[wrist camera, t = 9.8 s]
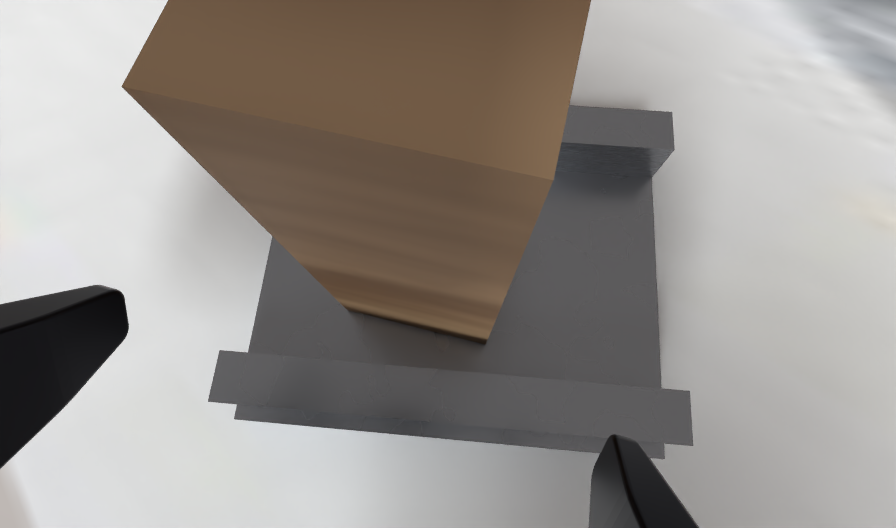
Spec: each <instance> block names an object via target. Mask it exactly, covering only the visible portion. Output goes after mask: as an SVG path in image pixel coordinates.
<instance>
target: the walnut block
mask: <svg viewBox="0 0 896 528" xmlns="http://www.w3.org/2000/svg"><path fill="white" fill-rule="evenodd" d="M590 2H591V0H168V2H167V4H166V6H165V7H164V9H163V11H162V13H161V15H160V17H159V19H158V20H157V22H156V24H155V26H154V28H153V30H152V31H151V33H150V35H149V37H148V39H147V41H146V42H145V44H144V46H143V48H142V50H141V52H140V54H139V55H138V57H137V59H136V61H135V63H134V65H133V66H132V68H131V70H130V72H129V74H128V76H127V78H126V79H125V81H124V83H123V85H122V87H123V88H124V89H125V90H126V91H127V92H128V93H129V94H130V95H131V96H132V97H133V98H134V99H135V100H136V101H137V102H138V103H139V104H140V105H141V106H142V107H143V108H144V109H145V110H146V111H147V112H148V113H149V114H150V115H151V116H152V117H153V118H154V119H155V120H156V121H157V122H158V123H159V124H160V125H161V126H162V127H163V128H164V129H165V130H166V131H167V132H168V133H169V134H170V135H171V136H172V137H173V138H174V139H175V140H176V141H177V142H178V143H179V144H180V145H181V146H182V147H183V148H184V149H185V150H186V151H187V152H188V153H189V154H190V155H191V156H192V157H193V158H194V159H195V160H196V161H197V162H198V163H199V164H200V165H201V166H202V167H203V168H204V169H205V170H206V171H207V172H208V173H209V174H210V175H211V176H212V177H213V178H214V179H215V180H216V181H217V182H218V183H219V184H220V185H221V186H222V187H223V188H224V189H225V190H226V191H227V192H228V193H229V194H230V195H231V196H233V197H234V198H235V199H236V200H237V201H238V202H239V203H240V204H241V205H242V206H243V207H244V208H245V209H246V210H247V211H248V212H249V213H250V214H251V215H252V216H253V217H254V218H255V219H256V220H257V221H258V222H259V223H260V224H261V225H262V226H263V227H264V228H265V229H266V230H267V231H268V232H269V233H270V234H271V235H272V236H273V237H274V238H275V239H276V240H277V241H278V242H279V243H280V244H281V245H282V246H283V247H284V248H285V249H286V250H287V251H288V252H289V253H290V254H291V255H292V256H293V257H294V258H295V259H296V260H297V261H298V262H299V263H300V264H301V265H302V266H303V267H304V268H305V269H306V270H307V271H308V272H309V273H310V274H311V275H312V276H313V277H314V278H315V279H316V280H317V281H318V282H319V283H320V284H321V285H322V286H323V287H324V288H325V289H326V290H327V291H328V292H329V293H330V294H331V295H332V296H333V297H334V298H335V299H336V300H337V301H338V302H339V303H340V304H341V305H342V306H343V307H345V308H346V309H347V310H349V311H353V312H357V313H361V314H365V315H369V316H373V317H377V318H381V319H385V320H389V321H393V322H397V323H401V324H405V325H409V326H413V327H417V328H421V329H425V330H429V331H433V332H437V333H441V334H445V335H449V336H453V337H457V338H461V339H465V340H469V341H473V342H477V343H481V344H485V345H486V342H487V340H488V338H489V335H490V333H491V330H492V328H493V325H494V323H495V321H496V318H497V316H498V313H499V311H500V309H501V306H502V304H503V301H504V299H505V296H506V294H507V292H508V289H509V287H510V284H511V282H512V279H513V277H514V275H515V272H516V270H517V267H518V265H519V262H520V260H521V258H522V255H523V253H524V250H525V248H526V245H527V243H528V241H529V238H530V236H531V233H532V231H533V228H534V226H535V224H536V221H537V219H538V216H539V214H540V212H541V209H542V207H543V204H544V202H545V199H546V197H547V195H548V192H549V190H550V187H551V185H552V182H553V180H554V175H555V170H556V165H557V161H558V156H559V151H560V146H561V141H562V137H563V132H564V127H565V122H566V117H567V113H568V108H569V103H570V98H571V93H572V89H573V84H574V79H575V74H576V69H577V65H578V60H579V55H580V50H581V45H582V41H583V36H584V31H585V26H586V21H587V17H588V12H589V7H590Z"/></svg>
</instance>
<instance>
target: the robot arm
mask: <svg viewBox="0 0 896 528" xmlns="http://www.w3.org/2000/svg"><path fill="white" fill-rule="evenodd" d="M128 329H129V324H128V317H127V311H126V305H125V298H124V295H123V294H122V292H120V291H119V290H117V289H113V288H110V287H106V286H103V285H93V286H88V287H83V288H78V289H73V290H68V291H63V292H59V293H54V294H49V295H44V296H39V297H34V298H29V299H24V300H19V301H14V302H9V303H5V304H0V469H1V468H2V467H3V466H4V465H5V464H6V463H7V462H8V461H9V460H10V459H11V458H12V457H13V456H14V455H15V454H16V453H17V452H18V451H20V450H21V449H22V448H23V447H24V446H25V445H26V444H27V443H28V442H29V441H30V440H31V439H32V438H33V437H34V436H35V435H36V434H37V433H38V432H39V431H40V430H41V429H43V428H44V427H45V426H46V425H47V424H48V423H49V422H50V421H51V420H52V419H53V418H54V417H55V416H56V415H57V414H58V413H59V412H60V411H61V410H62V409H63V408H64V407H65V406H66V405H67V404H68V403H69V402H70V401H71V400H72V398H73V397H74V396H75V395H76V394H77V393H78V392H79V391H80V389H81V388H82V387H83V386H84V385H85V384H86V383H87V381H88V380H89V379H90V378H91V377H92V376H93V375H94V374H95V372H96V371H97V370H98V369H99V368H100V367H101V366H102V364H103V363H104V362H105V361H106V360H107V359H108V358H109V356H110V355H111V354H112V353H113V352H114V351H115V350H116V348H117V347H118V346H119V345H120V344H121V343H122V342H123V340H124V339H125V337H126V336H127V333H128ZM589 528H699V527H698V525H697V524H696V523H695V521H694V520H693V518H692V517H691V516H690V514H689V513H688V511H687V510H686V509H685V507H684V506H683V504H682V503H681V502H680V500H679V499H678V497H677V496H676V495H675V493H674V492H673V490H672V489H671V488H670V486H669V485H668V483H667V482H666V480H665V479H664V478H663V476H662V475H661V473H660V472H659V471H658V469H657V468H656V466H655V465H654V464H653V462H652V461H651V459H650V458H649V457H648V455H647V454H646V452H645V451H644V450H643V448H642V447H641V445H640V444H639V443H638V442H637V441H636V440H634V439H630V438H627V437H624V436H620V435H617V434H613V435H610V436H609V438H608V439H607V441H606V443H605V445H604V447H603V449H602V451H601V453H600V455H599V458H598V460H597V462H596V464H595V466H594V469H593V473H592V479H591V495H590V514H589Z"/></svg>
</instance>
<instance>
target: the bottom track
mask: <svg viewBox="0 0 896 528" xmlns="http://www.w3.org/2000/svg"><path fill="white" fill-rule="evenodd" d="M673 151H674V135H673V119H672V112H662V111H647V110H631V109H616V108H600V107H584V106H569V108H568V113H567V117H566V122H565V127H564V132H563V137H562V141H561V146H560V151H559V156H558V161H557V165H556V170H555V175H554V180H553V182H552V185H551V187H550V190H549V192H548V195H547V197H546V199H545V202H544V204H543V207H542V209H541V212H540V214H539V216H538V219H537V221H536V224H535V226H534V228H533V231H532V233H531V236H530V238H529V241H528V243H527V245H526V248H525V250H524V253H523V255H522V258H521V260H520V262H519V265H518V267H517V270H516V272H515V275H514V277H513V279H512V282H511V284H510V287H509V289H508V292H507V294H506V296H505V299H504V301H503V304H502V306H501V309H500V311H499V313H498V316H497V318H496V321H495V323H494V325H493V328H492V330H491V333H490V335H489V338H488V340H487V342H486V345H485V344H481V343H477V342H473V341H469V340H465V339H461V338H457V337H453V336H449V335H445V334H441V333H437V332H433V331H429V330H425V329H421V328H417V327H413V326H409V325H405V324H401V323H397V322H393V321H389V320H385V319H381V318H377V317H373V316H369V315H365V314H361V313H357V312H353V311H349V310H347V309H346V308H345V307H343V306H342V305H341V304H340V303H339V302H338V301H337V300H336V299H335V298H334V297H333V296H332V295H331V294H330V293H329V292H328V291H327V290H326V289H325V288H324V287H323V286H322V285H321V284H320V283H319V282H318V281H317V280H316V279H315V278H314V277H313V276H312V275H311V274H310V273H309V272H308V271H307V270H306V269H305V268H304V267H303V266H302V265H301V264H300V263H299V262H298V261H297V260H296V259H295V258H294V257H293V256H292V255H291V254H290V253H289V252H288V251H287V250H286V249H285V248H284V247H283V246H282V245H281V244H280V243H279V242H278V241H277V240H276V239H275V238H274V237H273V236H272V241H271V246H270V251H269V255H268V260H267V265H266V270H265V274H264V279H263V284H262V289H261V293H260V298H259V303H258V308H257V312H256V317H255V322H254V327H253V331H252V336H251V341H250V346H249V350H248V353H246V352H234V351H223V350H220V351H219V355H218V360H217V364H216V368H215V373H214V377H213V382H212V386H211V390H210V395H209V399H208V402H218V403H229V404H237V408H236V412H235V417H234V419H238V420H248V421H259V422H270V423H281V424H292V425H302V426H313V427H324V428H335V429H346V430H356V431H367V432H378V433H389V434H399V435H410V436H421V437H432V438H443V439H453V440H464V441H475V442H486V443H497V444H507V445H518V446H529V447H540V448H550V449H561V450H572V451H583V452H594V453H601V451H602V449H603V447H604V445H605V443H606V441H607V439H608V438H609V436H610V435H613V434H617V435H620V436H624V437H627V438H630V439H634V440H636V441H637V442H638V443H639V444H640V445H641V447H642V448H643V450H644V451H645V452H646V454H647V455H648V457H649V458H658V459H665V456H664V443H667V444H678V445H689V446H693V436H692V420H691V404H690V391H683V390H671V389H661V369H660V347H659V325H658V304H657V282H656V260H655V239H654V217H653V195H652V177H653V175H654V174H655V173H656V172H657V170H658V169H659V168H660V167H661V166H662V164H663V163H664V162H665V161H666V159H667V158H668V157H669V156H670V155H671V153H672V152H673Z"/></svg>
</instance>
